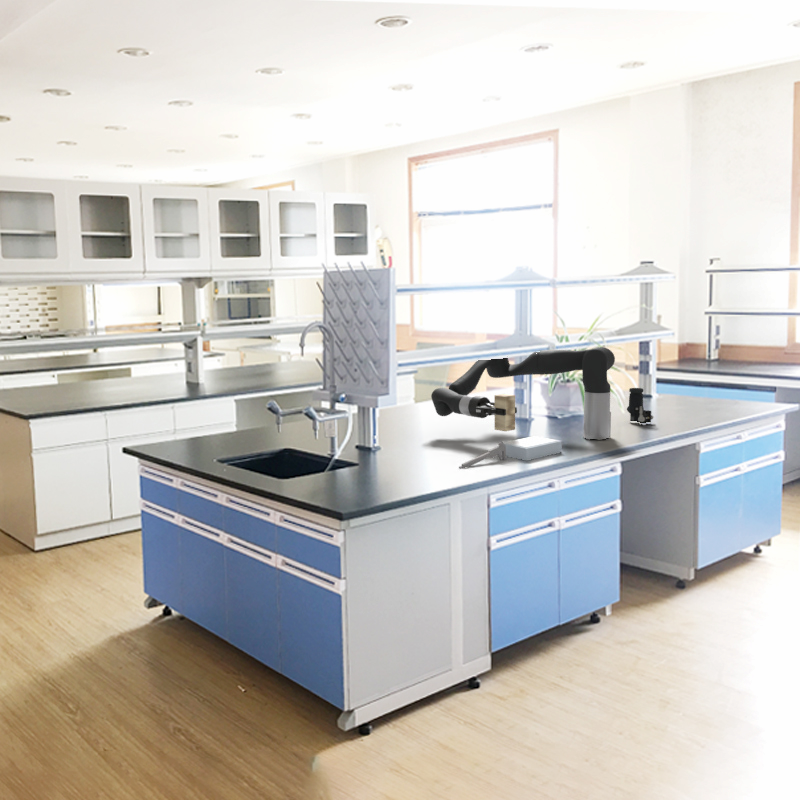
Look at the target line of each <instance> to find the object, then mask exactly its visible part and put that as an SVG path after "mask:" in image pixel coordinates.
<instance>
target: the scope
mask: <svg viewBox="0 0 800 800" xmlns="http://www.w3.org/2000/svg"><path fill="white" fill-rule="evenodd" d="M628 391H629V396H628V398H629V399H628V406H627V407H626V410H627V412H628V413H629V416H630V417H629V419H630V420H629V422H630V421H637V422H640V423H646V422H651V423H652V420H653V419H654V415H653V414H652V410H645V409H644V394H643V393H644V388H641V387H631V388H629V390H628Z"/></svg>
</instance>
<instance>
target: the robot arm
mask: <svg viewBox="0 0 800 800" xmlns="http://www.w3.org/2000/svg"><path fill="white" fill-rule="evenodd" d="M538 351H540V352H536V351H534V352H532V353H531V354H530V355H528V356H527V357H526V358H525V359H524V360H523V361H521V362H519V363H515V364H513V363H512V364H511V363H510V361H509V358H503V359H491V360H478V359H477V360H478V361H477V360H476V361H475V362H474V363H473V365H472V366H471V367H470V368H469V369H468V370H467V371H466V372H465V373H464V374H463V375H461V376H460V377H459V378H457V379H456V380H454V381H453V382H452V383H451V384H449V386H448V388H447V387H437V388H436V389H434V390H433V391H432V393H431V400H432V403H433V406H434V409H435V411H436V414H437V415H439V416H441V417H447V416H450V415H451V414H452V413H454V414H457V415H464V416H467V417H474V418H479V419H485V418H487V417H489V416H495V415H503V416H504V415H506V409H501V408H496V407H495V401H494V402H493V401H492V402H491V401H490V399H489V398H488V397H485V396H480V395H479V396H478V395H472V394H471V393H472V392H474V390H475V389H476V387H478V386H477V385H478V383H479V381H480V379H481V378H482V376H483V373H484V372H485V370H486V373H487V375H488V376H489V377H490V378H493V379H494V378H495V379H498V378H499V379H500V378H509V377H516V376H530V375H532V376H533V375H536V376H537V375H540V376H541V375H542V376H543V375H557V374H558V375H559V374H563V373H569V372H575V371H582V374H581V375H582V385H583V387H584V390H583V391H584V393H583V394H584V396H583V401H584V402H583V405H584V406H583V439H585V438H586V440H590V439H606V438H609V439H610V437H611V428H612V425H611V424H612V412H611V384H610V383H609V381H608V371H609V370H610V369H612V367H613V366H614V364H615V361H616V357H615V354H614V352H612V350H611V349H609V348H607V347H603V346H597V347H593V348H590V349H588V348H587V349H581V350H569V349H543V350H542V349H541V350H538ZM536 353H537V354H536ZM470 394H471V395H470ZM517 412H518V408H517V407H516V406H515V414H517ZM609 436H610V437H609ZM606 440H607V439H606Z"/></svg>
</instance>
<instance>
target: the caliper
mask: <svg viewBox="0 0 800 800" xmlns="http://www.w3.org/2000/svg"><path fill="white" fill-rule="evenodd" d="M503 442H504V441H502V440H501V441H500V442H498V445H497V446H495V447H493V448H491V449H488V451H487V452H484V453H483V454H480V455H479V456H477V457H474V458H471V459H470V460H468V461H465V462H463V463H461V465H460V466H458V469H461V468H462V469H466V468H465V467H467V468H469V467H471V466H473V465H475V464H478V463H480V462H482V461H484V460H486V459H488V458H489V459H493V458H496V457H497V458H498V460H500V461H503V460H506V458H507V456H506V447H505V444H504V443H503ZM501 451H502V454H501Z"/></svg>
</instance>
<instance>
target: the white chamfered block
mask: <svg viewBox="0 0 800 800" xmlns="http://www.w3.org/2000/svg"><path fill="white" fill-rule="evenodd" d="M502 442H503V443H504V444H505V447H506V458H507V457H508V458H511V457H512V458H511V459H516V458H517V459H518V460H521V459H522V461H532V460H536V459H541V458H544V457H548V456H547V455H549V456H552V455H551V454H553V455H556V453H557V454H561V453H560V452H562V447H563V445H562V444H563V443H562V442H563V440H559V439H553V438H547V437H541V436H537V435H533V436H529V437H523V438H518V439H514V440H507V441H502ZM501 454H502V451H501ZM543 456H544V457H543ZM531 459H532V460H531Z"/></svg>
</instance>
